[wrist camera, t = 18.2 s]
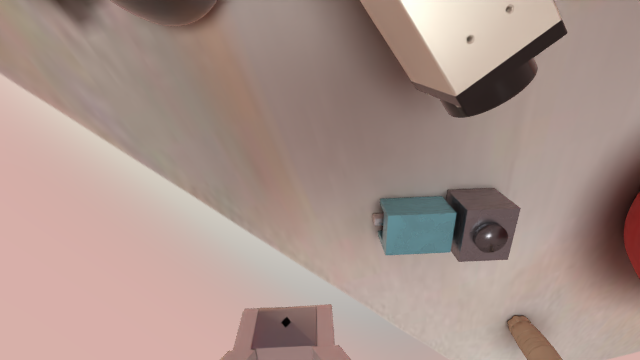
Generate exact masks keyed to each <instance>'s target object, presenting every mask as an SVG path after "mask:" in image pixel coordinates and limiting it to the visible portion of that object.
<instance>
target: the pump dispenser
mask: <svg viewBox="0 0 640 360" xmlns="http://www.w3.org/2000/svg"><path fill="white" fill-rule="evenodd" d="M110 1H111V2H113V3H114V4H116V5H117V6H119V7H121V8H122V9H124V10H126V11H128V12H130V13H131V14H133V15H135V16H137V17H140V18H142V19H144V20H146V21H149V22H152V23H155V24H159V25H165V26H183V25H187V24H191V23H193V22H195V21H197V20H199V19H201V18H202V17H203V16H205V15H206V14H207V13H208V12H209V11H210V10H211V9H212V7H213V6H214V5H215V3H216V1H217V0H110Z"/></svg>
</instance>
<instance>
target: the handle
mask: <svg viewBox="0 0 640 360" xmlns="http://www.w3.org/2000/svg"><path fill="white" fill-rule="evenodd" d="M530 323H531V322H530V321H529V320H528V319H527V318H526V317H525V316H513V318H512V319H511V320H508V325H509V330H510V332H511V334H512V335H513V337H514V339H515V341H516V343H517V344H518V346H519V348H520V349H521V351H522V352H523V354H524V355H525V357H526V358H527V360H562V358H561V357H560V355H559V354H558V353H557V351H556V350H555V349H554V347H553V346H552V345H551V344H550V343H549V341H548V340H547V339H546V338H545V337H544V336H543V335H542V334H541V332H540V331H539V330H538V329H537V328H536V327H535V326H534V325H532V324H530Z"/></svg>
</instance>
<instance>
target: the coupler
mask: <svg viewBox="0 0 640 360" xmlns="http://www.w3.org/2000/svg"><path fill="white" fill-rule="evenodd" d="M446 202H447V203H448V204H449V205H450V206H451V207H452V208H453V209H454V211H455V212H456V220H455V226H454V232H453V239H452V245H451V251H452V253H453V254H454V256H455V257H456V259H457V260H458V261H459V262H464V261H486V260H508V257H509V253H510V248H511V244H512V240H513V236H514V232H515V228H516V224H517V220H518V216H519V212H520V208H519V207H518V206H517V205H516V204H514V203H513V202H512V201H510V200H509V199H508V198H506V197H505V196H504V195H503V194H501V193H500V192H499V191H497V190H496V189H495V188H482V189H457V190H448V192H447V199H446ZM383 221H384V213H375V214H373V223H374V225H375V226H382V225H383Z"/></svg>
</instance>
